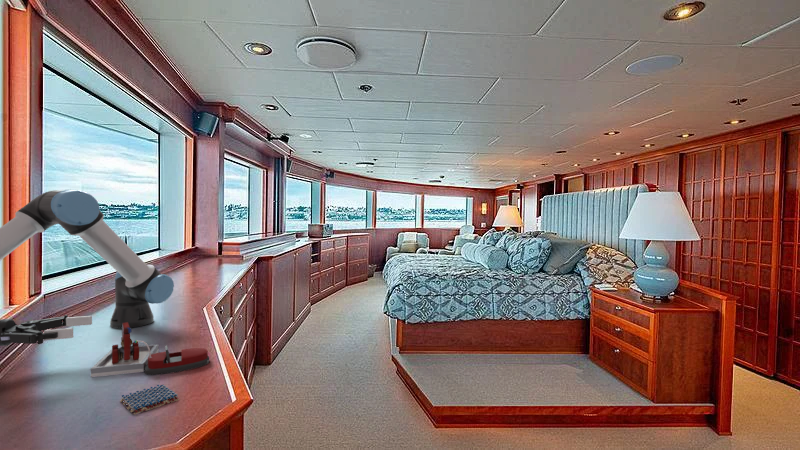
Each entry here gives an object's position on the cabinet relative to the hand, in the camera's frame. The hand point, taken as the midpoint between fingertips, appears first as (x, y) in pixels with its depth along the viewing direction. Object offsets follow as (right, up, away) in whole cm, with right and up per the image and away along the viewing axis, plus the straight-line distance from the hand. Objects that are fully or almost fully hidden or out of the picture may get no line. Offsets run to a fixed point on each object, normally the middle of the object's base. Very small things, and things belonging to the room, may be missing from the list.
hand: (82, 326), depth 120 cm
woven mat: (+34, -14, -21) cm, 42 cm away
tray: (+12, -12, +3) cm, 17 cm away
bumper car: (+27, -13, +1) cm, 30 cm away
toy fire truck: (+10, -11, +4) cm, 16 cm away
